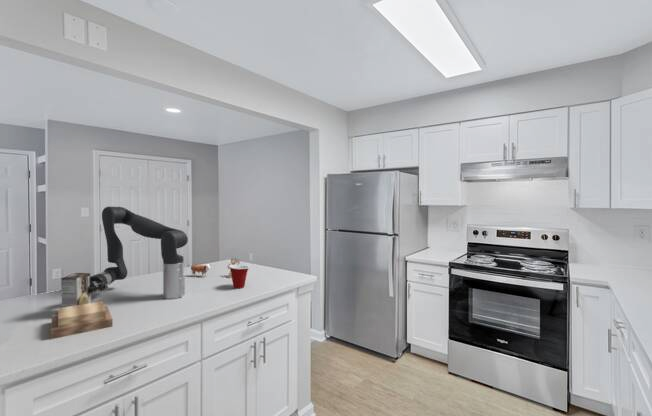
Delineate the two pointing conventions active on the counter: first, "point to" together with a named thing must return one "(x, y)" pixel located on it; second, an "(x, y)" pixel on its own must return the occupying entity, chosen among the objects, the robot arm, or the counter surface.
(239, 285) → the plastic cup
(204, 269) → the bull figurine
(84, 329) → the plinth
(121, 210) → the robot arm
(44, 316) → the counter surface
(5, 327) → the counter surface
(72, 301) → the coffee box
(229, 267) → the tan wooden handled piece
